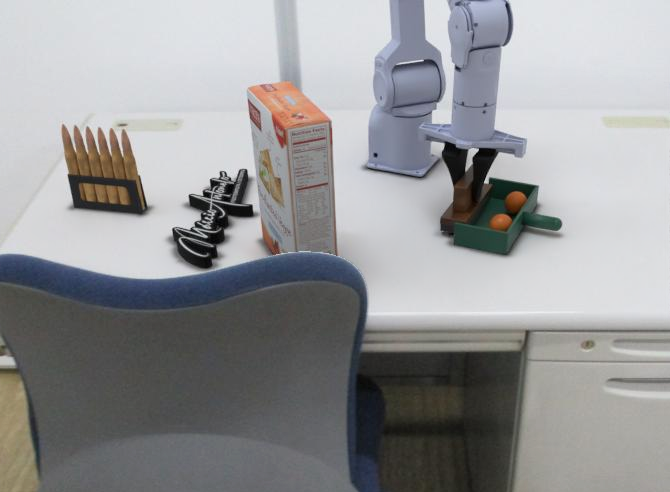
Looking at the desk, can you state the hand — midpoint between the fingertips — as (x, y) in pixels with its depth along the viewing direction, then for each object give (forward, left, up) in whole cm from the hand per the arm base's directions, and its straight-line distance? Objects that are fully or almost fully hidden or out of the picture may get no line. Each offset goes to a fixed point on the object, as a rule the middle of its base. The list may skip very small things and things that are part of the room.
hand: (467, 197), depth 116 cm
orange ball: (+6, +4, -2) cm, 7 cm away
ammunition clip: (-48, -17, -3) cm, 51 cm away
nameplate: (-32, -14, -3) cm, 35 cm away
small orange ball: (+6, -4, -2) cm, 7 cm away
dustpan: (+7, 0, -3) cm, 8 cm away
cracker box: (-16, -20, -3) cm, 26 cm away
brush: (0, 0, -3) cm, 3 cm away
